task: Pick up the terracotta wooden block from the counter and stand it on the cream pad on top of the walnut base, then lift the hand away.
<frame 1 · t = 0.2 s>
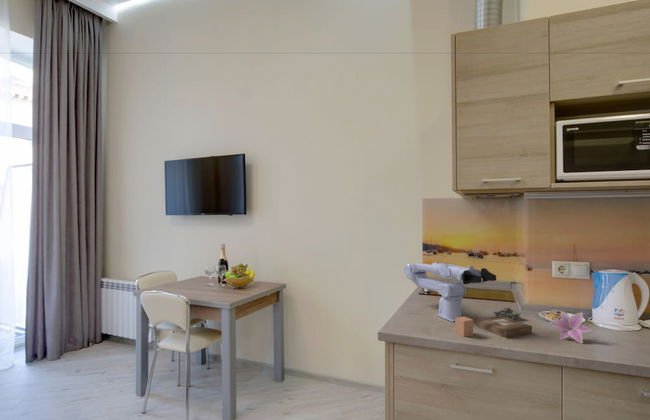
hand: (488, 278, 139), 21 cm above the worktop, tool horizontal, fingers open, 7 cm apart
egg carton: (506, 319, 159), on the worktop
walnut base: (503, 329, 143), on the worktop
lily: (570, 339, 135), on the worktop
terracotta block: (463, 334, 138), on the worktop
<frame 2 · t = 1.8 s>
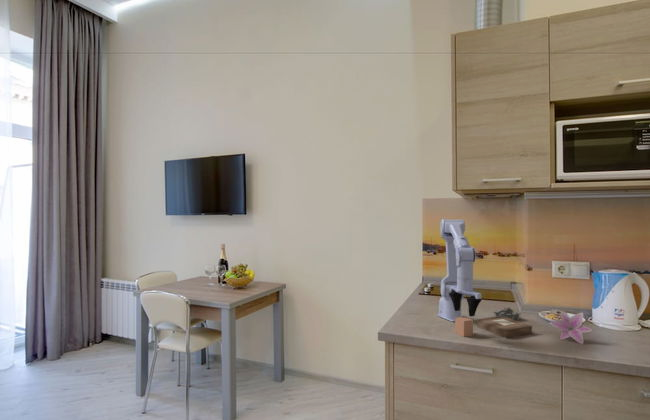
hand: (464, 313, 138), 8 cm above the worktop, tool pointing down, fingers open, 7 cm apart
nothing on the worktop moved.
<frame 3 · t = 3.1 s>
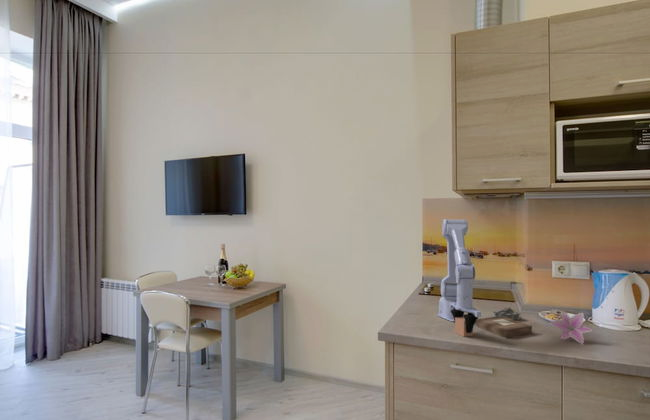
hand: (463, 330, 138), 1 cm above the worktop, tool pointing down, fingers closed on terracotta block, 5 cm apart
terracotta block: (463, 334, 138), on the worktop, touching gripper
everything else where it was.
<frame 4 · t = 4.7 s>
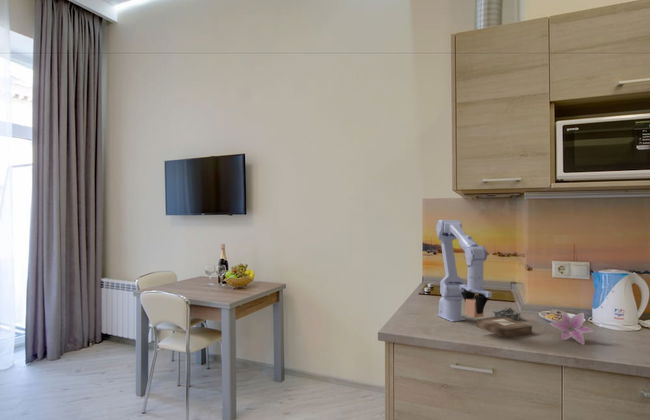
hand: (474, 311, 139), 8 cm above the worktop, tool pointing down, fingers closed on terracotta block, 5 cm apart
terracotta block: (474, 315, 139), point 7 cm above the worktop, touching gripper
everything else where it was.
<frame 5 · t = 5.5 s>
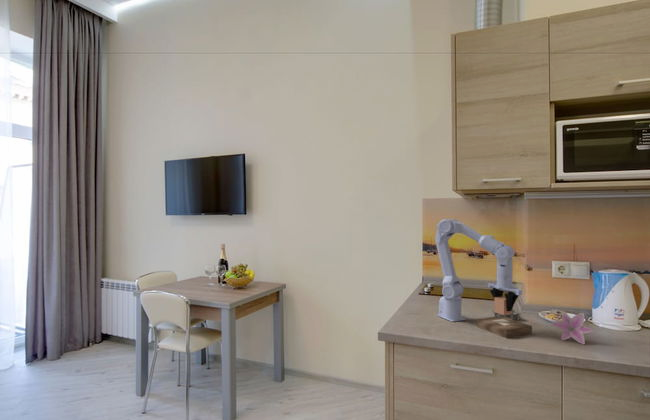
hand: (503, 309, 143), 8 cm above the worktop, tool pointing down, fingers closed on terracotta block, 5 cm apart
terracotta block: (503, 313, 143), point 7 cm above the worktop, touching gripper
everything else where it was.
when the fingers open (6 cm above the worktop, at t = 6.4 s): terracotta block drops 1 cm, resting on walnut base.
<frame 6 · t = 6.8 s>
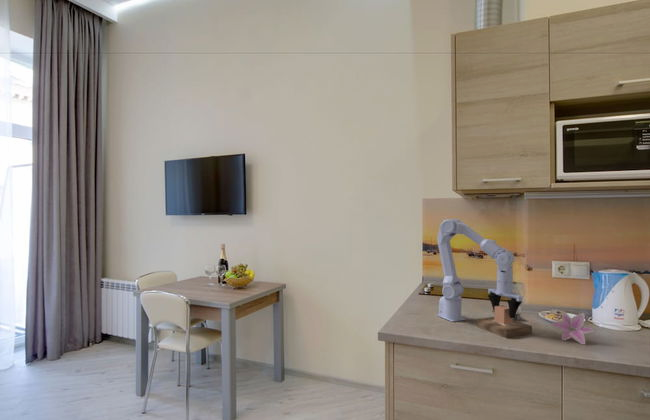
hand: (504, 314, 143), 6 cm above the worktop, tool pointing down, fingers open, 7 cm apart
terracotta block: (503, 322, 143), point 3 cm above the worktop, touching walnut base
everything else where it was.
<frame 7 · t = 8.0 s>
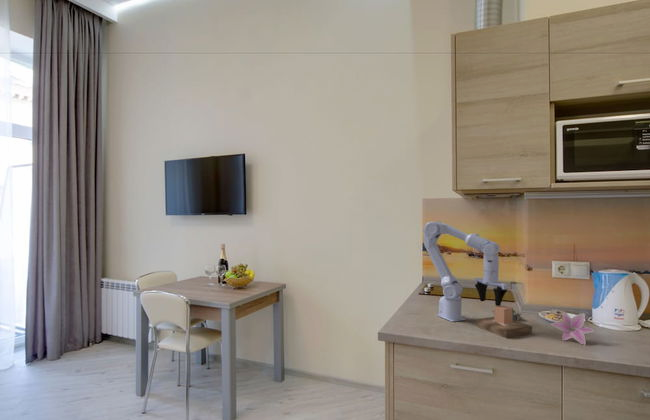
hand: (490, 303, 148), 9 cm above the worktop, tool pointing down, fingers open, 7 cm apart
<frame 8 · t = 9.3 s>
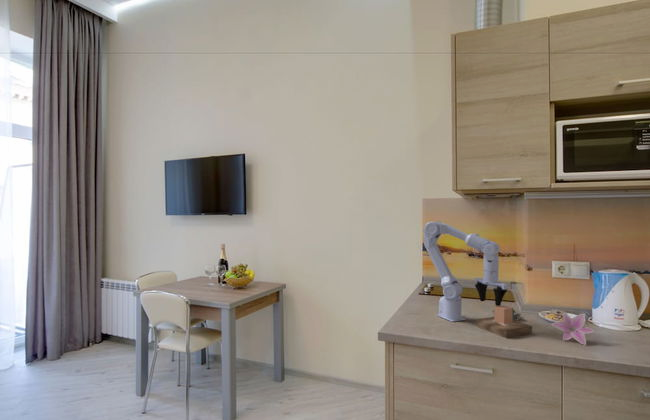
hand: (490, 303, 148), 9 cm above the worktop, tool pointing down, fingers open, 7 cm apart
at the end: terracotta block 0.4 cm off-centre on the walnut base, point 3.2 cm above the walnut base's base; terracotta block tilted 0°; the gripper is holding nothing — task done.
